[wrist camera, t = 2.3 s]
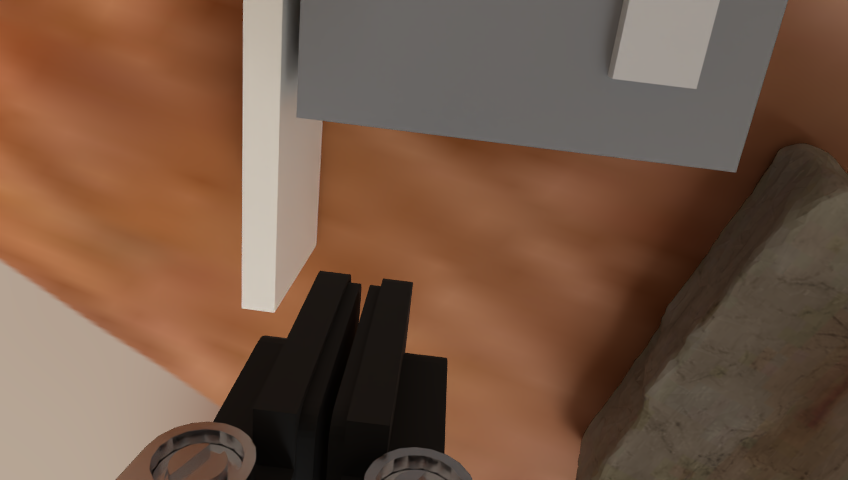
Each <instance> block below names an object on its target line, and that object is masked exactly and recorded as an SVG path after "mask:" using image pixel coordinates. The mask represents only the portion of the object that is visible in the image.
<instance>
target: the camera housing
mask: <svg viewBox="0 0 848 480" xmlns="http://www.w3.org/2000/svg"><path fill="white" fill-rule="evenodd" d="M787 2H788V0H301V2H300V29H299V57H298V85H297V113H296V118H304V119H312V120H320V121H328V122H336V123H344V124H352V125H360V126H368V127H376V128H384V129H392V130H400V131H408V132H416V133H424V134H432V135H440V136H448V137H456V138H464V139H472V140H480V141H488V142H496V143H504V144H512V145H520V146H528V147H536V148H544V149H552V150H560V151H568V152H576V153H584V154H592V155H600V156H608V157H616V158H624V159H632V160H640V161H648V162H656V163H664V164H672V165H680V166H688V167H696V168H704V169H712V170H720V171H728V172H736V170H737V167H738V164H739V161H740V157H741V154H742V151H743V147H744V144H745V141H746V137H747V134H748V131H749V128H750V124H751V121H752V118H753V114H754V111H755V108H756V104H757V101H758V98H759V94H760V91H761V88H762V85H763V81H764V78H765V75H766V71H767V68H768V65H769V61H770V58H771V55H772V52H773V48H774V45H775V42H776V38H777V35H778V32H779V28H780V25H781V22H782V18H783V15H784V12H785V9H786V5H787Z"/></svg>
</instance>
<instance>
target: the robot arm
mask: <svg viewBox="0 0 848 480" xmlns="http://www.w3.org/2000/svg"><path fill="white" fill-rule="evenodd" d="M412 287H413V282H407V281H399V280H390V279H383V280H382V284H381V286H374V285H370V287H369V290H368V294H367V297H366V301H365V304H364V307H363V311H362V314H361V317H360V321H359V314H360V301H361V284H358V283H351V275H350V274H341V273H333V272H325V271H320V272H319V273H318V275H317V277H316V279H315V281H314V284H313V286H312V288H311V290H310V292H309V294H308V296H307V298H306V300H305V302H304V304H303V306H302V308H301V310H300V312H299V314H298V317H297V319H296V321H295V323H294V325H293V327H292V329H291V331H290V333H289V335H288V337H287V338H280V337H272V336H262V337H261V338H260V340H259V341H258V343H257V345H256V346H255V348H254V350H253V352H252V353H251V355H250V357H249V359H248V361H247V362H246V364H245V366H244V368H243V369H242V371H241V373H240V375H239V377H238V378H237V380H236V382H235V384H234V386H233V387H232V389H231V391H230V393H229V394H228V396H227V398H226V400H225V402H224V403H223V405H222V407H221V409H220V411H219V412H218V414H217V416H216V418H215V419H214V421H213V422H199V423H190V424H187V425H183V426H179V427H176V428H173V429H171V430H169V431H167V432H165V433H163V434H161V435H160V436H158V437H157V438H156V439H154V440H153V441H152V442H151V443H149V444H148V445H147V446H146V447H145V448H144V450H142V451H141V452H140V454H139V455H138V456H137V457H136V458H135V459H134V460H133V461H132V462H131V464H129V466H128V467H127V468H126V469H125V470H124V471H123V472H122V473H121V474H120V475H119V476H118V478H117V479H116V480H472V478H471V476H470V474H469V473H468V472H467V471H466V469H465V468H464V467H463V466H462V465H461V464H460V463H459V462H457V461H456V460H454V459H453V458H451V457H449V456H448V455H446V454H444V448H445V418H446V388H447V358H443V357H435V356H427V355H418V354H410V353H405V348H406V339H407V331H408V322H409V313H410V305H411V296H412Z"/></svg>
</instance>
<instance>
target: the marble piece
mask: <svg viewBox="0 0 848 480" xmlns="http://www.w3.org/2000/svg"><path fill="white" fill-rule="evenodd" d="M576 480H848V174H847V173H846V172H845V171H844V170H843V169H842V167H841V166H840V165H839V164H838V162H837V161H836V159H834V158H833V157H832V156H831V155H830V154H829V153H827V152H825V151H823V150H822V149H820V148H817V147H814V146H812V145H809V144H794V145H790V146H786V147H784V148H782V149H780V150H779V151H778V153H777V154H776V156H775V158H774V160H773V162H772V164H771V165H770V167H769V168H768V169H767V171H766V172H765V173H764V175H763V176H762V178H761V179H760V181H759V183H758V184H757V186H756V187H755V189H754V191H753V193H752V194H751V195H750V196H749V197H748V198H747V199H746V201H745V202H744V203H743V205H742V207H741V208H740V210H739V211H738V212H737V213H736V214H735V215H734V217H733V218H732V219H731V220H730V222H729V223H728V224H727V226H726V227H725V228H724V229H723V231H722V232H721V233H720V235H719V238H718V239H717V240H716V241H715V242H714V244H713V246H712V247H711V249H710V251H709V252H708V254H707V256H706V257H705V258H704V259H703V260H702V262H701V263H700V265H699V266H698V267H697V269H696V270H695V271H694V273H693V274H692V276H691V277H690V279H689V280H688V281H687V282H686V283H685V284H684V286H683V287H682V288H681V289H680V291H679V292H678V294H677V295H676V296H675V297H674V299H673V300H672V302H671V303H670V304H669V305H668V306H667V308H666V312H665V314H664V316H663V317H662V319H661V324H660V326H659V329H658V330H657V331H656V332H655V334H654V335H653V337H652V338H651V340H650V342H649V344H648V346H647V347H646V348H645V349H644V351H643V352H642V353H641V355H640V356H639V357H638V358H637V359H636V360H635V361H634V363H633V365H632V367H631V368H630V370H629V371H628V373H627V374H626V376H625V377H624V379H623V381H622V383H621V384H620V385H619V387H618V388H617V389H616V390H615V391H614V393H613V394H612V395H611V397H610V398H609V400H608V401H607V402H606V404H605V405H604V406H603V408H602V409H601V411H600V412H599V413H598V414H597V415H596V416H595V418H594V419H593V420H592V422H591V423H590V425H589V426H588V428H587V430H586V432H585V434H584V435H583V438H582V441H581V448H580V454H579V459H578V469H577V476H576Z"/></svg>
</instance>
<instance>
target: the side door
mask: <svg viewBox="0 0 848 480" xmlns="http://www.w3.org/2000/svg"><path fill="white" fill-rule="evenodd" d="M300 2H301V0H243V149H242V308H243V309H251V310H258V311H266V312H273V313H275V311H276V309H277V308H278V306H279V305H280V303H281V301H282V300H283V298H284V297H285V295H286V293H287V292H288V290H289V288H290V287H291V285H292V284H293V282H294V280H295V279H296V277H297V276H298V274H299V272H300V271H301V269H302V267H303V266H304V264H305V263H306V261H307V259H308V258H309V256H310V255H311V253H312V251H313V250H314V248H315V246H316V242H317V223H318V203H319V184H320V165H321V145H322V126H323V121H320V120H312V119H304V118H296V113H297V85H298V57H299V29H300Z"/></svg>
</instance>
